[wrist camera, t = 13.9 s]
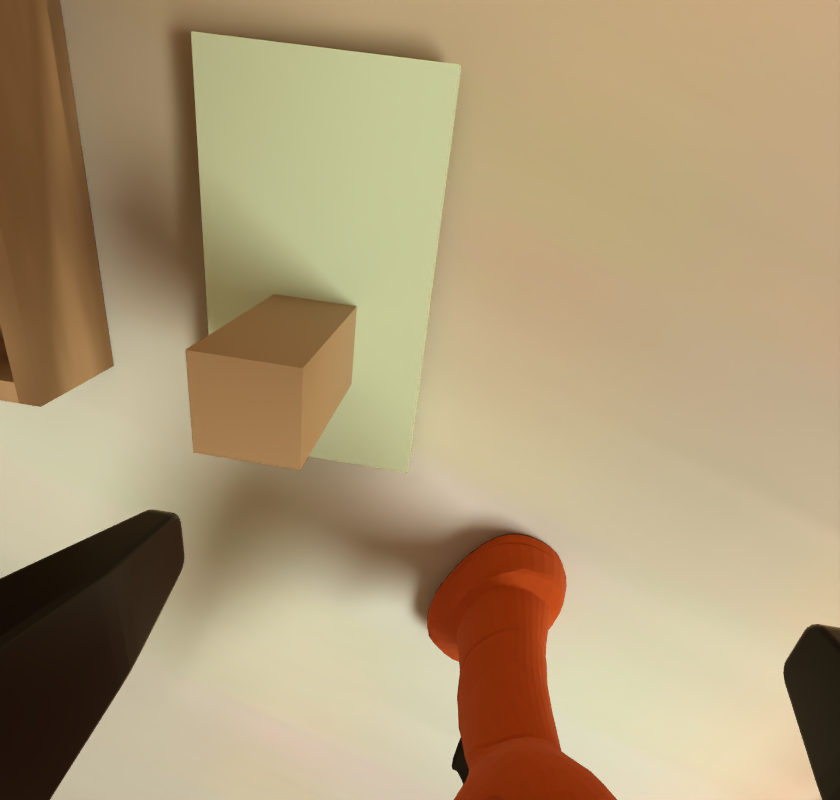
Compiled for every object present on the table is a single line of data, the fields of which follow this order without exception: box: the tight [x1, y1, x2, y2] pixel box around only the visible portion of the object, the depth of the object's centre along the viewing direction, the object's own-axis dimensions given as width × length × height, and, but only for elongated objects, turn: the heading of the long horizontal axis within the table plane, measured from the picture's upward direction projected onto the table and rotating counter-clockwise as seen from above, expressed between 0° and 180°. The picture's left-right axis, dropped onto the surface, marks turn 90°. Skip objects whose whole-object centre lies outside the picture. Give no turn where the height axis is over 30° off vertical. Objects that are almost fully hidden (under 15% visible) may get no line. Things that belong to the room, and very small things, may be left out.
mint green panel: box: [186, 31, 461, 473], centre depth 16 cm, size 8×14×8 cm, turn 173°
